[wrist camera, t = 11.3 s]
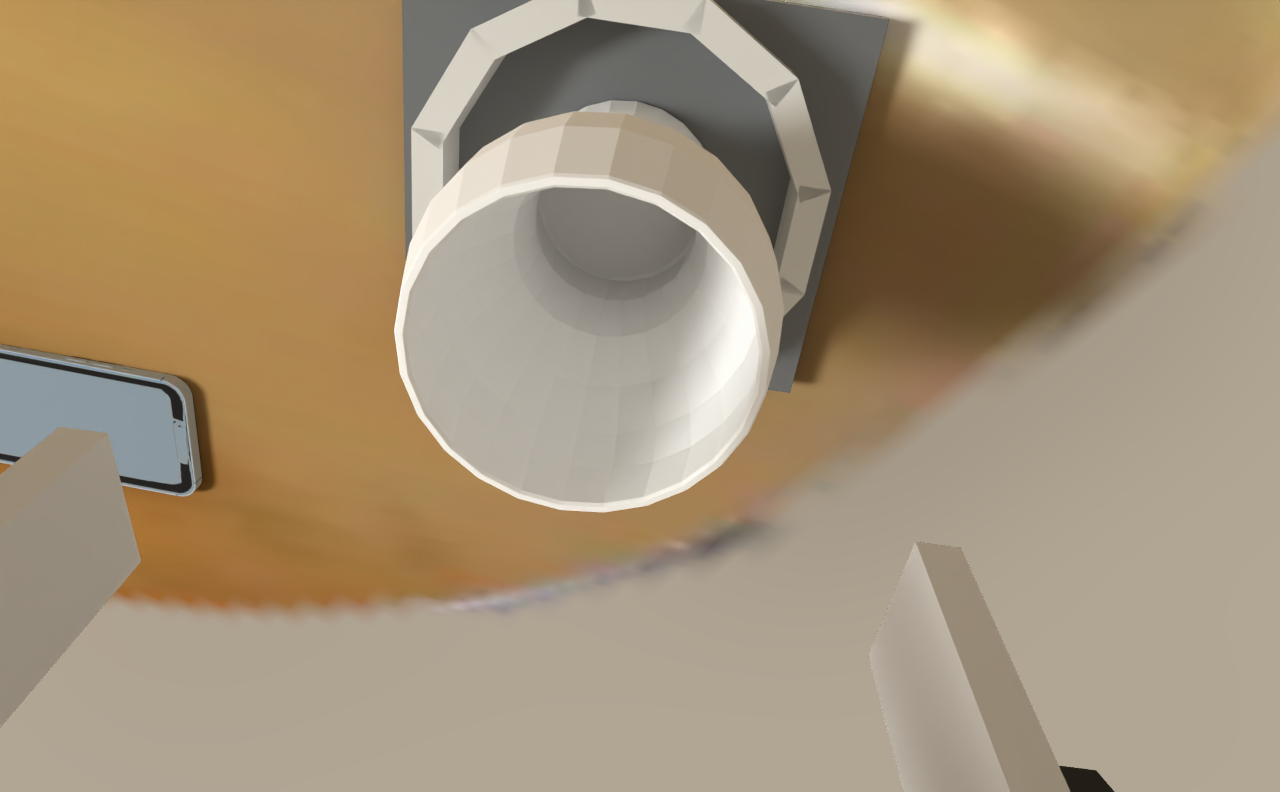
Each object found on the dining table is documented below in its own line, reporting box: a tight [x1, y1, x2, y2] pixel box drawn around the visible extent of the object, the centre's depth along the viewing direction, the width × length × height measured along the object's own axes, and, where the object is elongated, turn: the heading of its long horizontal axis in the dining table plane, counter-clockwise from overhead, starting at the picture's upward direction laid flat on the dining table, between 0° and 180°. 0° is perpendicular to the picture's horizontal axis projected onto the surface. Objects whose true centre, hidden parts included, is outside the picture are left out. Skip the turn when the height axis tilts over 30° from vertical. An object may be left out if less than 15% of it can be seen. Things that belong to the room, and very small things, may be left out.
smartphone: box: [0, 344, 202, 496], centre depth 41 cm, size 7×1×15 cm
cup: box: [394, 100, 784, 512], centre depth 26 cm, size 11×11×15 cm
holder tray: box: [402, 0, 889, 393], centre depth 32 cm, size 16×18×4 cm
